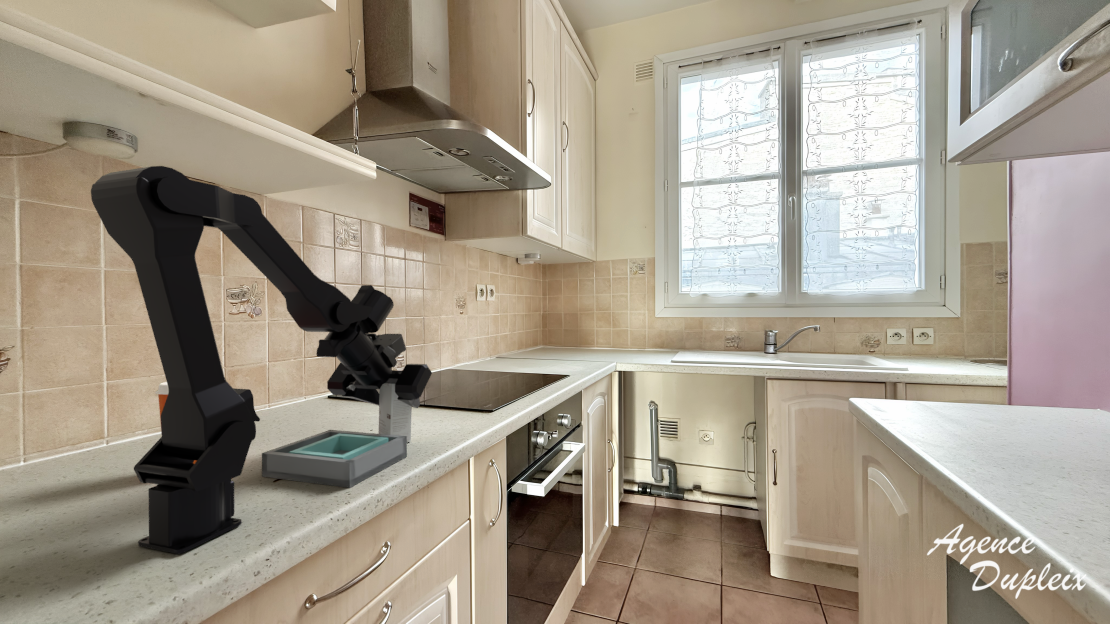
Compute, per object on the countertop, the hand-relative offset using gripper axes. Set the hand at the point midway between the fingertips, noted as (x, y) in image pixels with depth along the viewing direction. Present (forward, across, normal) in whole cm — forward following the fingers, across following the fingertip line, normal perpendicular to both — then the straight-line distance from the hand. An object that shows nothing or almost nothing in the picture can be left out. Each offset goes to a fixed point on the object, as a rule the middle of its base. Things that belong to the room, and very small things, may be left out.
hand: (399, 404), depth 81 cm
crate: (-6, 0, +15) cm, 16 cm away
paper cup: (-11, +22, +21) cm, 32 cm away
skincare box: (+4, 0, +6) cm, 7 cm away
